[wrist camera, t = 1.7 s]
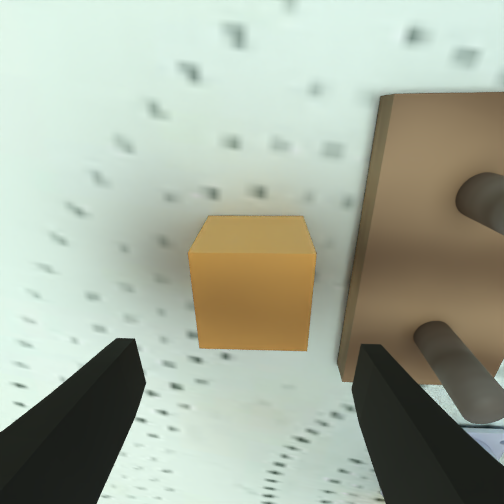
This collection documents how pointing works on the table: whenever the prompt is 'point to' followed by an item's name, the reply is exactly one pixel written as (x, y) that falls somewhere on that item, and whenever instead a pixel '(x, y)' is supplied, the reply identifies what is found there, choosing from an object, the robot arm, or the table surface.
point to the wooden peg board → (434, 247)
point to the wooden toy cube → (253, 282)
